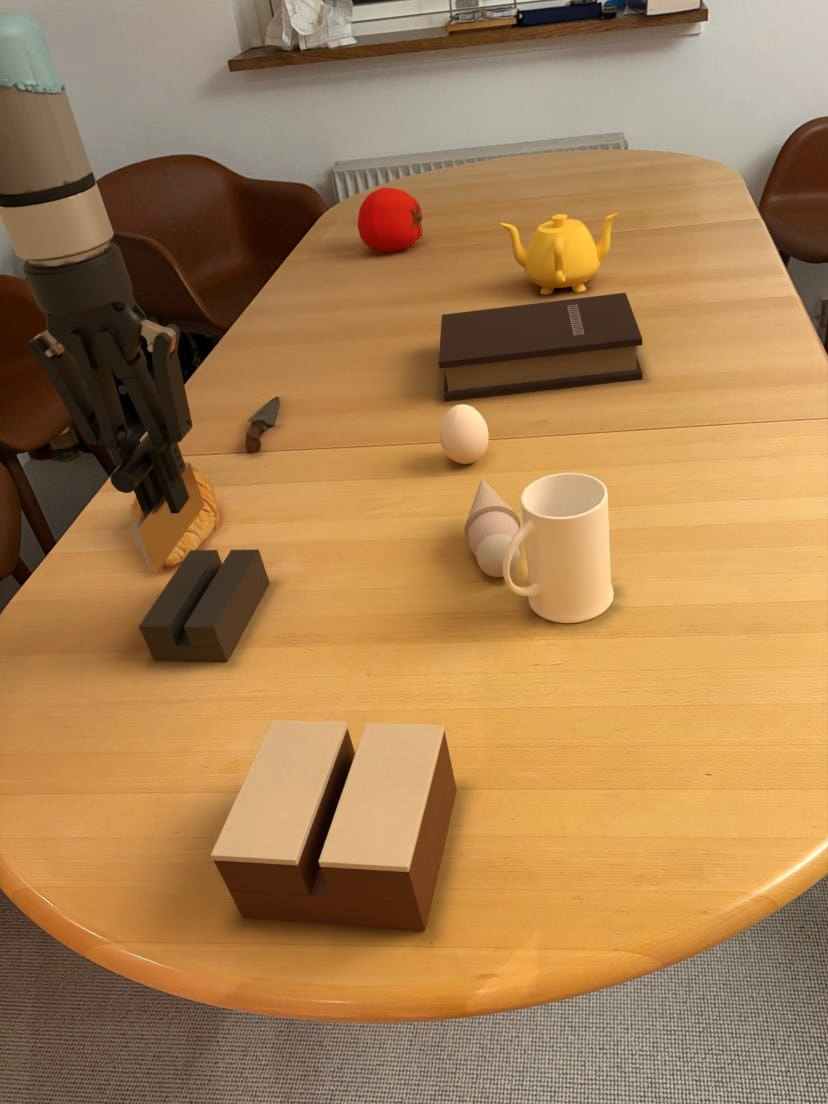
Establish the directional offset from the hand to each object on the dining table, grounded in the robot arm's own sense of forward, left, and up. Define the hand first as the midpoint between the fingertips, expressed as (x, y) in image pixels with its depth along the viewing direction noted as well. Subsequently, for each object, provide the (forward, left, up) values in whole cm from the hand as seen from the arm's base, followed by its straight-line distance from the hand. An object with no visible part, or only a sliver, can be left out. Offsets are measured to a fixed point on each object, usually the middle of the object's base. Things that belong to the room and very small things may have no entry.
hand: (166, 505), depth 87 cm
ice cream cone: (+28, +13, -14) cm, 34 cm away
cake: (+23, -28, -14) cm, 39 cm away
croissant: (-11, +18, -14) cm, 26 cm away
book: (+28, +61, -14) cm, 69 cm away
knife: (-10, +44, -14) cm, 47 cm away
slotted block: (0, 0, -14) cm, 14 cm away
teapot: (+29, +92, -14) cm, 98 cm away
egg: (+22, +32, -14) cm, 42 cm away
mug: (+36, +3, -14) cm, 39 cm away
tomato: (-8, +120, -14) cm, 121 cm away
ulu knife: (0, 0, -4) cm, 4 cm away
